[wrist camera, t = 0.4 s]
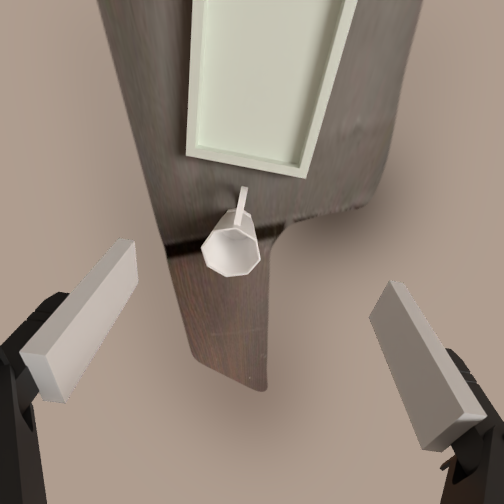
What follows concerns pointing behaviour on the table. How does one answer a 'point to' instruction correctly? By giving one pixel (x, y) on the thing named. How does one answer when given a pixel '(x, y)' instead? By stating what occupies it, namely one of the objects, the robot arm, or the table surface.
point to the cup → (232, 242)
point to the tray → (263, 79)
